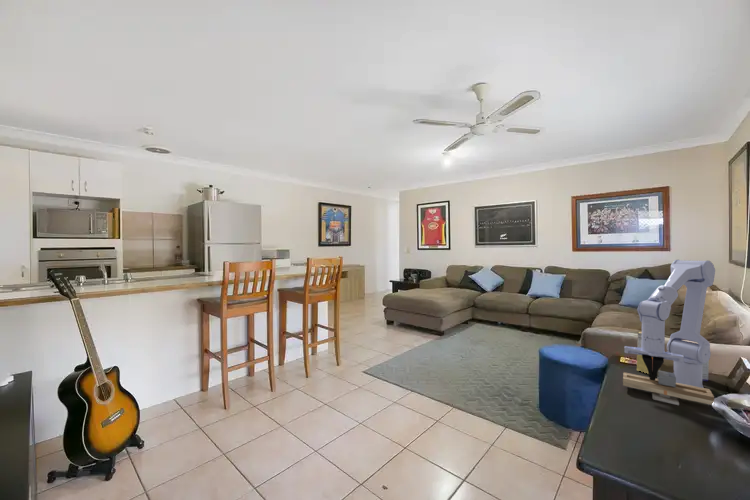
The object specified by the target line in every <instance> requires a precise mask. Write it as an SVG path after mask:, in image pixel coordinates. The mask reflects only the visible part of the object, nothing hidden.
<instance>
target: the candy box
mask: <svg viewBox="0 0 750 500" xmlns="http://www.w3.org/2000/svg"><path fill="white" fill-rule="evenodd" d="M641 340H642V331H639V332H637V342H636V343H637V344H636V346H637V347H638V348H641ZM659 370H660V371H661V367H660V368H659ZM639 371H641V372H640V373H643V372H644V374H646V373H647V374H646V375H649V372H648V369H647V367H646V365H645V363H644V361H643V359H642V355H637V354H636V372H639ZM652 371H653V357H652Z"/></svg>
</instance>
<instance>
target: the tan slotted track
mask: <svg viewBox="0 0 750 500" xmlns="http://www.w3.org/2000/svg"><path fill="white" fill-rule="evenodd" d="M622 374H623V377H622V386H624V387H628V388H632V389H633V388H634V389H637V390H642V391H647V392H651V395H652V397H651V398H652V399H653V400H655V401H658V402H662V403H668V404H672V405H677V406H680V402H679V398H680V399H682V400H683V399H684V400H688V401H693V402H698V403H702V404H707V405H711V406H713V405H712V403H713V402H714V403H715V396H714V394H713V393H712V391H711V389H710V388H706V387H705V388H701V387H696V386H691V385H686V384H681V383H676V387H671V386H666V385H661V384H658V379H657V378H655V380H650V378H649V376H644V375H639V374H635V373H630V372H625V371H623V373H622Z"/></svg>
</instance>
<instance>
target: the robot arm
mask: <svg viewBox="0 0 750 500" xmlns="http://www.w3.org/2000/svg"><path fill="white" fill-rule="evenodd" d="M715 275H716V268H715V266H714V264H713V263H712V261H710V260H691V259H690V260H685V259H684V260H682V259H681V260H680V259H674V260H673V261H672V262H671V264H670V275H669V277H668V278H667V280H666V281H665V283H664V285H659V286H658V287H657V288H656V289H655V290H654V291H653V292H652V293H651V295H650V296H649V297H648V299H646V300H641V301H640V302H639V303H638V307H637V314H638V316H639V322H640V323H641V332H642V340H641V348H638V347H636V346H627V345H624V353H625V354H633V355H636V356H637V355H642V359H643V361H644V363H645V365H646V367H647V369H648V372H649V374H648V377H649V378H650V380H655V379H657V378H656V377H657V376H658V370H659V368H660V369H661V367H662V366H663V364H664V360H667V361H673V373H674V374H675V377H676V383H681V384H686V385H691V386H696V387H701V388H704V385H703V381H702V367H703V364H704V363H706V362H708V361H709V360H710V359H711V355H712V354H711V343H710V341H709V340H708V339H706V338H705V337H704V336H703V335H701V330H702V322H703V315H704V310H705V309H704V308H705V304H706V296H707V290H708V288H709V287H711V286H714V281H715ZM683 285H684V286H685V288H686V291H685V298H684V305H683V311H682V315H681V316H682V317H681V324H680V328H679V330H678V331H676V332H673V333H671V334H670V337H669V340H668V341H667V342H666V341H665V337H666V336H665V335H666V334H665V333H666V331H665V330H666V329H665V328H666V327H665V326H666V320H667V319H668V318H669V317H670V313H671V310H672V307H671V306H672V305H673V304H674V302H675V301H676V300H677V298H679V297H678V296H679V293H678V290H680V289H681V287H682V286H683ZM665 342H666V343H667V344H666V347H665ZM665 348H666V351H665ZM652 357H653V371H652ZM709 362H710V361H709Z"/></svg>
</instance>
